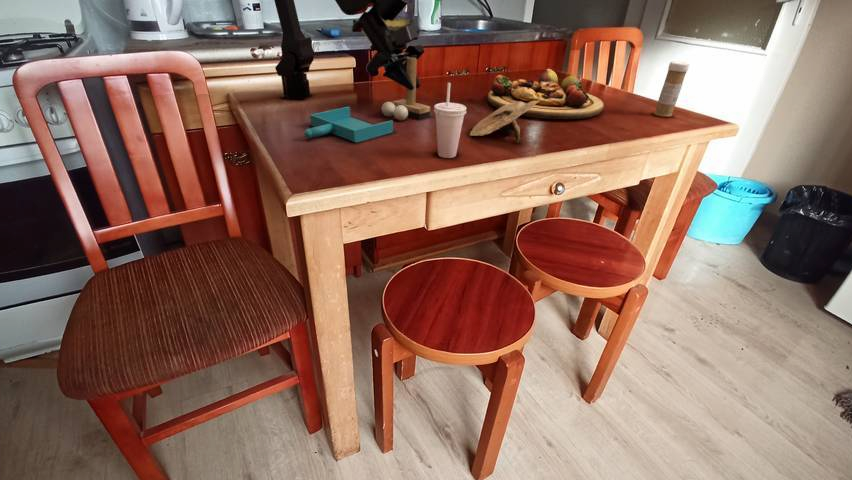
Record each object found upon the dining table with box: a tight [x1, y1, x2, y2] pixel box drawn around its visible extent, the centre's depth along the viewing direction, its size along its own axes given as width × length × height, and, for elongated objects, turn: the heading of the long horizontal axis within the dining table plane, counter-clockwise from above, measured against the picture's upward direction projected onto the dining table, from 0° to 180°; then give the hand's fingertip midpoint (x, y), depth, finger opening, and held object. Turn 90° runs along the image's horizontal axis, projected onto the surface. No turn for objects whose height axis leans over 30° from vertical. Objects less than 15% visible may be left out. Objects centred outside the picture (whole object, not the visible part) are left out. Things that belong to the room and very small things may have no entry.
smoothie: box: [433, 82, 467, 159], centre depth 89 cm, size 6×6×14 cm
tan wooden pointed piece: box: [469, 100, 540, 144], centre depth 102 cm, size 18×14×8 cm
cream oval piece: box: [393, 105, 409, 121], centre depth 111 cm, size 4×4×4 cm
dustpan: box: [304, 106, 394, 143], centre depth 102 cm, size 18×16×3 cm
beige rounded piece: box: [381, 101, 395, 118], centre depth 114 cm, size 4×4×4 cm
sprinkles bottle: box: [653, 60, 690, 118], centre depth 119 cm, size 5×5×14 cm
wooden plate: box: [486, 68, 605, 120], centre depth 126 cm, size 32×32×8 cm
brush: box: [391, 57, 431, 121], centre depth 113 cm, size 4×10×13 cm, turn 46°
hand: (415, 88), depth 113 cm, fingers closed on brush, 2 cm apart
